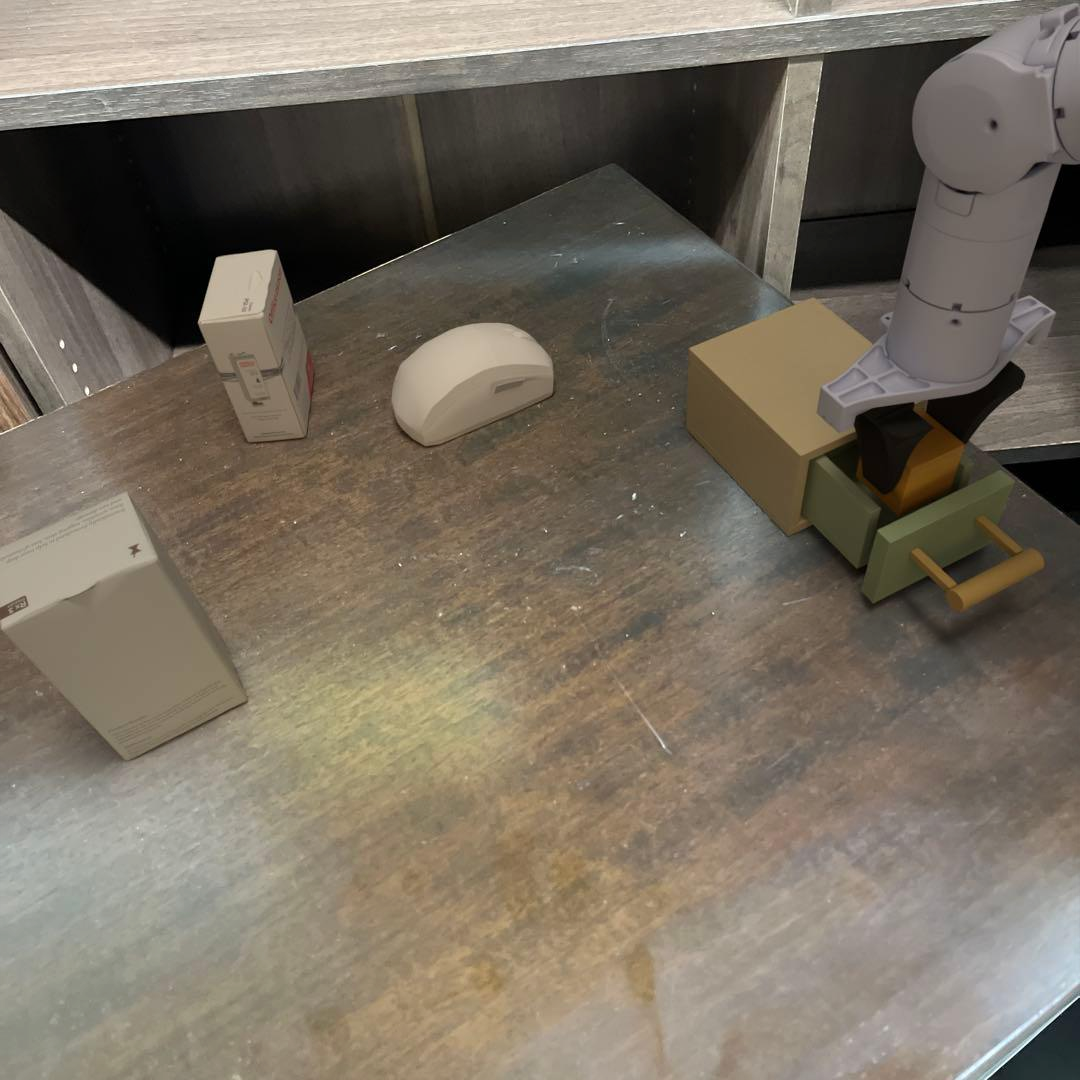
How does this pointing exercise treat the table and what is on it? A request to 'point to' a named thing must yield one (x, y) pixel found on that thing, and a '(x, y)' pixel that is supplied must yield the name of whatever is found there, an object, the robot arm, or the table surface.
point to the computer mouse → (469, 381)
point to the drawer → (915, 529)
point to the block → (923, 469)
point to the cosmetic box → (116, 627)
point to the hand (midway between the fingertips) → (907, 468)
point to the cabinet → (771, 402)
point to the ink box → (258, 345)
